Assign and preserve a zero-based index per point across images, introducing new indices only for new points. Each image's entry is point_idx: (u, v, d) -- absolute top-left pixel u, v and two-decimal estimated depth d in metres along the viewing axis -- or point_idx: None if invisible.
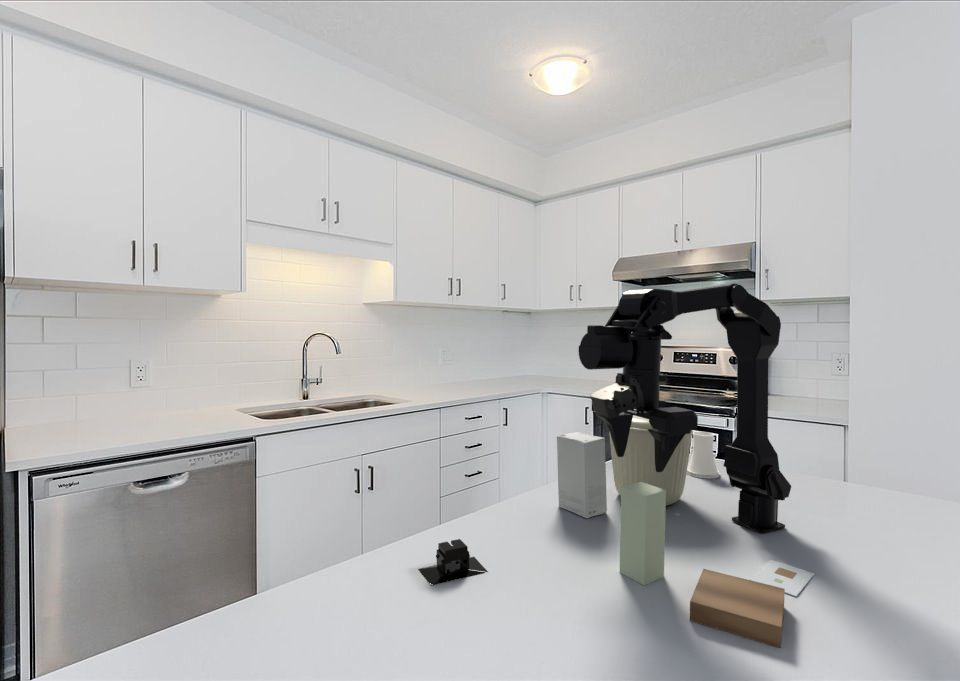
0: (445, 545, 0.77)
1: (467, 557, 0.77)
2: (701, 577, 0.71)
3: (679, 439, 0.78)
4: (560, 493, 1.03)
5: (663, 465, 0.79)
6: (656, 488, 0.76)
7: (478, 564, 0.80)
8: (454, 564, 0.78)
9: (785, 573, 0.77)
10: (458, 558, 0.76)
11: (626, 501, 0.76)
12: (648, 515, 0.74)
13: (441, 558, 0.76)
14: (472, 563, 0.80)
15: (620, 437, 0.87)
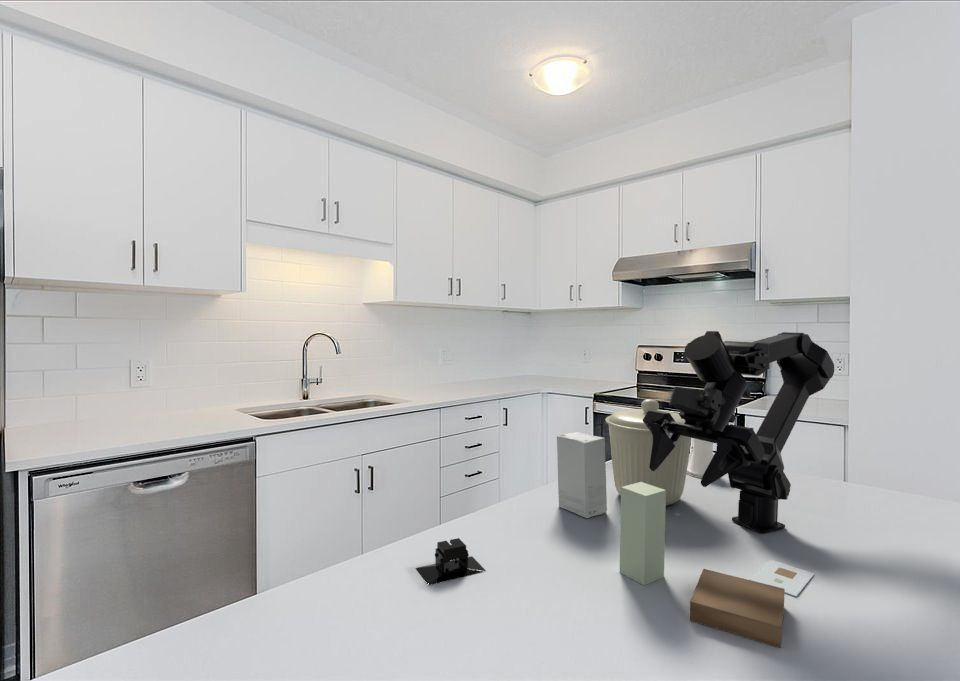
0: (444, 544, 0.78)
1: (466, 556, 0.78)
2: (701, 577, 0.71)
3: (734, 467, 0.78)
4: (560, 493, 1.03)
5: (709, 481, 0.77)
6: (656, 488, 0.76)
7: (477, 563, 0.80)
8: (453, 563, 0.79)
9: (785, 573, 0.77)
10: (457, 557, 0.77)
11: (626, 501, 0.76)
12: (648, 515, 0.74)
13: (440, 557, 0.77)
14: (471, 562, 0.80)
15: (660, 453, 0.86)
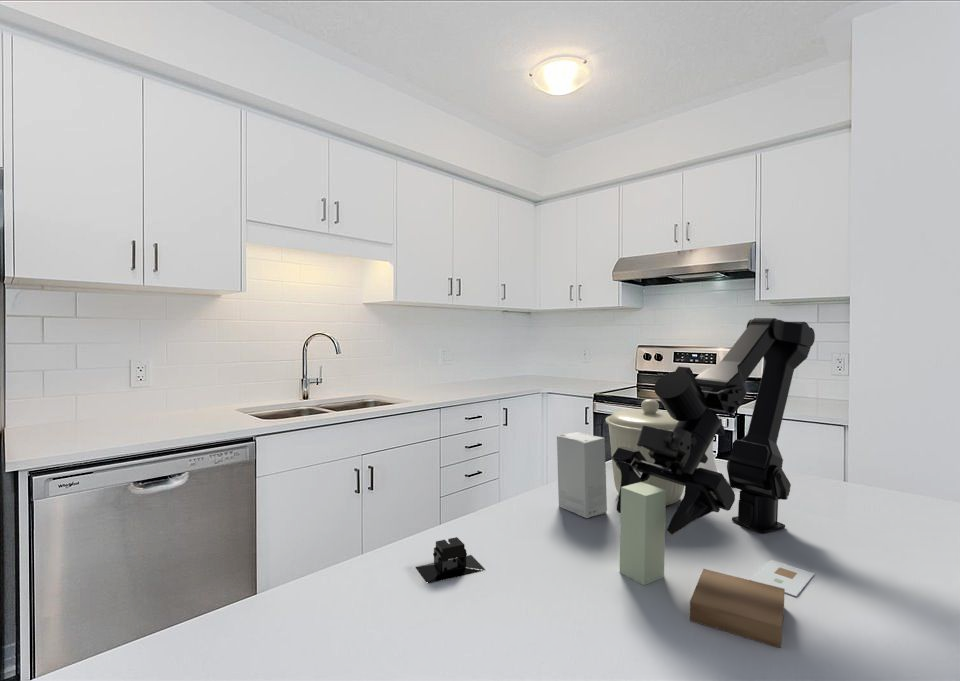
0: (442, 543, 0.78)
1: (464, 555, 0.78)
2: (701, 577, 0.71)
3: (703, 513, 0.74)
4: (560, 493, 1.03)
5: (676, 528, 0.73)
6: (656, 488, 0.76)
7: (475, 562, 0.80)
8: (451, 562, 0.79)
9: (785, 573, 0.77)
10: (455, 556, 0.77)
11: (626, 501, 0.76)
12: (648, 515, 0.74)
13: (438, 556, 0.77)
14: (469, 561, 0.80)
15: None
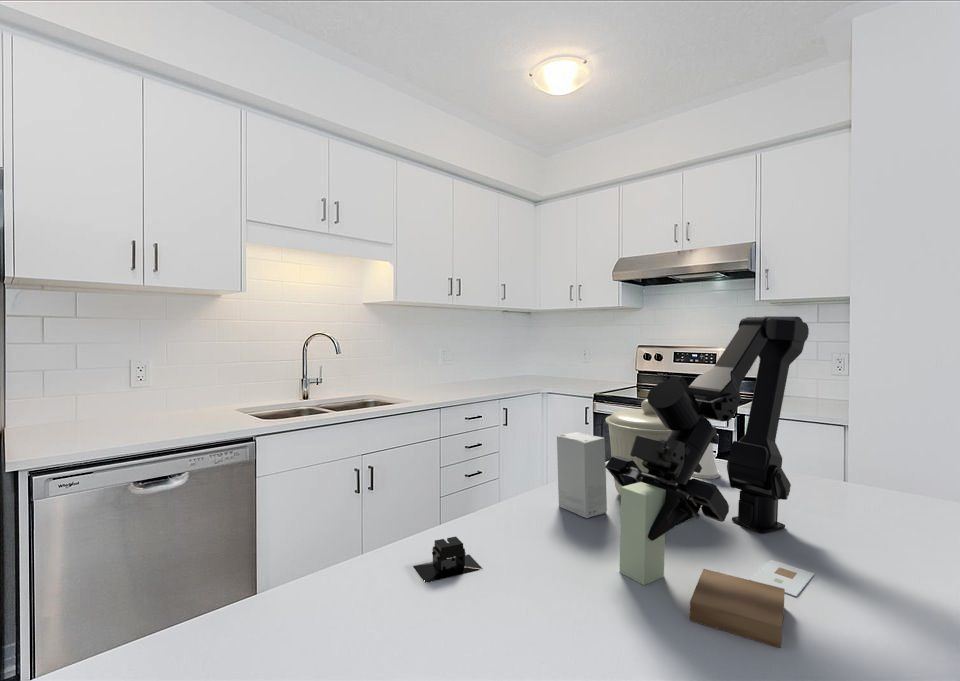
0: (441, 542, 0.78)
1: (463, 554, 0.78)
2: (701, 577, 0.71)
3: (683, 519, 0.75)
4: (560, 493, 1.03)
5: (657, 534, 0.74)
6: (656, 488, 0.76)
7: (474, 561, 0.80)
8: (450, 561, 0.79)
9: (785, 573, 0.77)
10: (454, 555, 0.77)
11: (626, 501, 0.76)
12: (648, 515, 0.74)
13: (437, 555, 0.77)
14: (468, 560, 0.81)
15: None
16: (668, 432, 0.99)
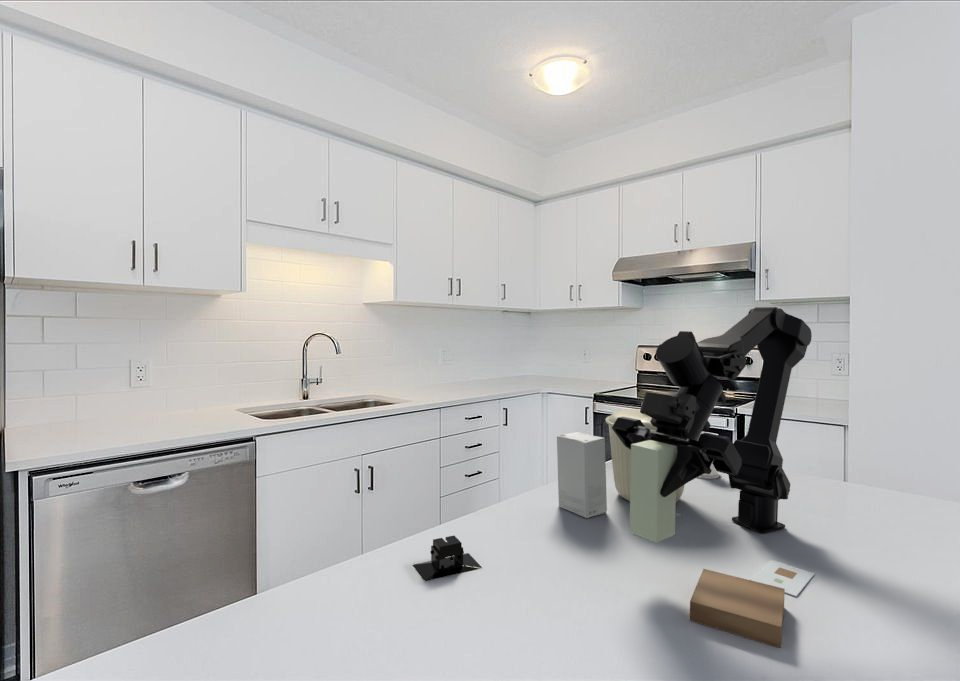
0: (439, 541, 0.79)
1: (461, 553, 0.78)
2: (701, 577, 0.71)
3: (695, 475, 0.74)
4: (560, 493, 1.03)
5: (669, 490, 0.72)
6: (667, 444, 0.75)
7: (472, 560, 0.81)
8: (448, 560, 0.80)
9: (785, 573, 0.77)
10: (452, 554, 0.78)
11: (637, 458, 0.74)
12: (660, 470, 0.72)
13: (435, 554, 0.78)
14: (466, 559, 0.81)
15: None
16: None
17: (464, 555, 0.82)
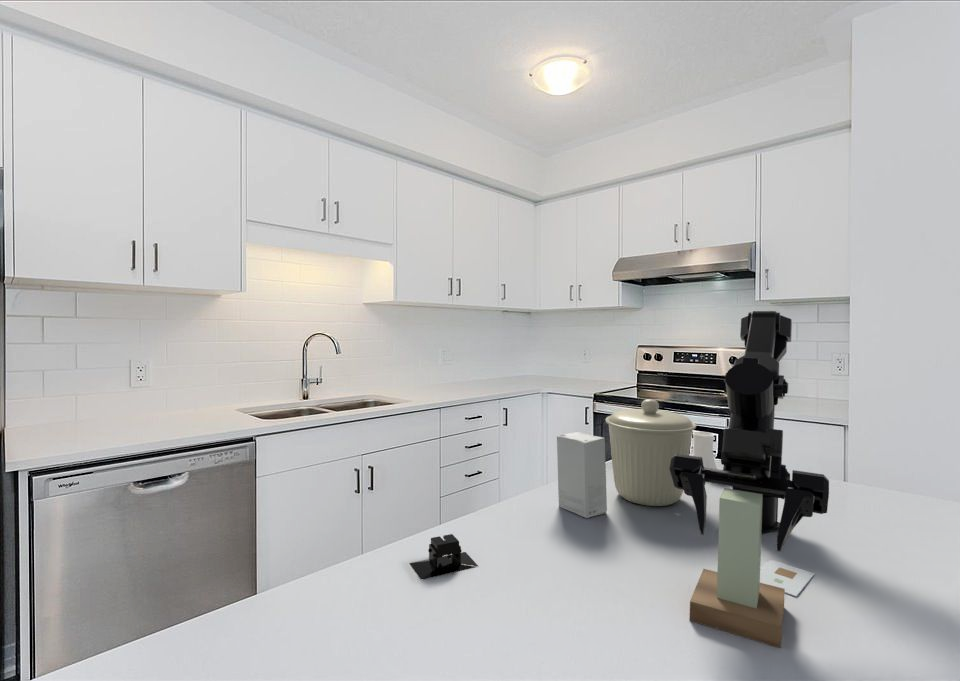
0: (437, 540, 0.79)
1: (458, 551, 0.79)
2: (701, 577, 0.71)
3: (797, 521, 0.66)
4: (560, 493, 1.03)
5: (783, 543, 0.63)
6: (751, 493, 0.67)
7: (470, 559, 0.81)
8: (446, 558, 0.80)
9: (785, 573, 0.77)
10: (450, 552, 0.78)
11: (728, 514, 0.65)
12: (759, 526, 0.64)
13: (433, 552, 0.78)
14: (464, 558, 0.81)
15: (704, 510, 0.69)
16: (668, 432, 0.99)
17: (462, 554, 0.83)
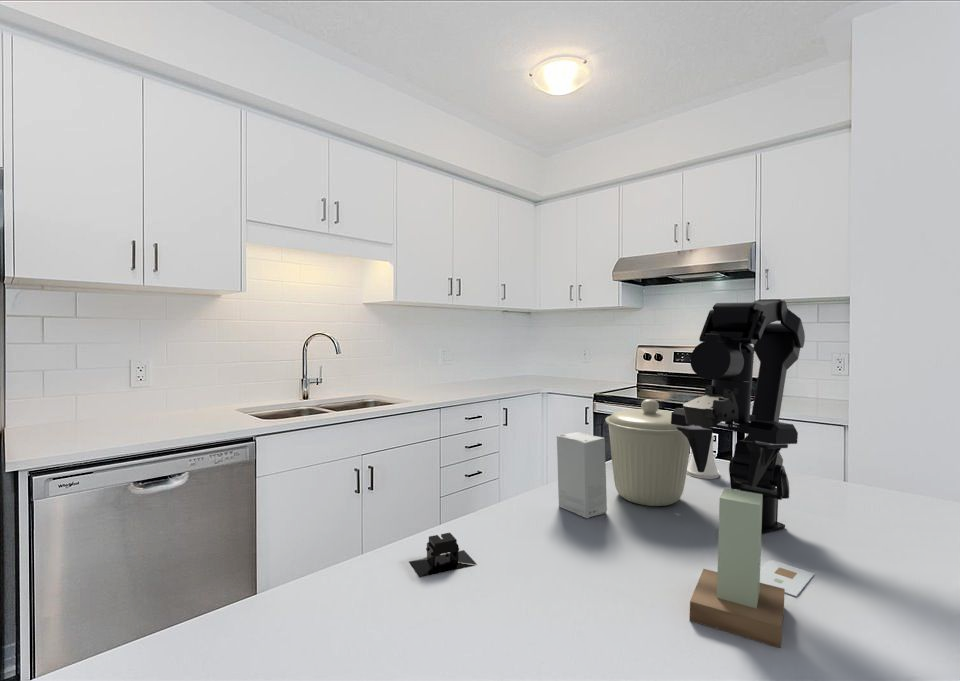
0: (435, 538, 0.80)
1: (456, 550, 0.80)
2: (701, 577, 0.71)
3: (774, 454, 0.77)
4: (560, 493, 1.03)
5: (757, 480, 0.77)
6: (751, 493, 0.67)
7: (467, 557, 0.82)
8: (444, 556, 0.81)
9: (785, 573, 0.77)
10: (447, 551, 0.79)
11: (728, 514, 0.65)
12: (759, 526, 0.64)
13: (431, 551, 0.79)
14: (462, 556, 0.82)
15: (701, 452, 0.86)
16: (668, 432, 0.99)
17: (460, 552, 0.83)
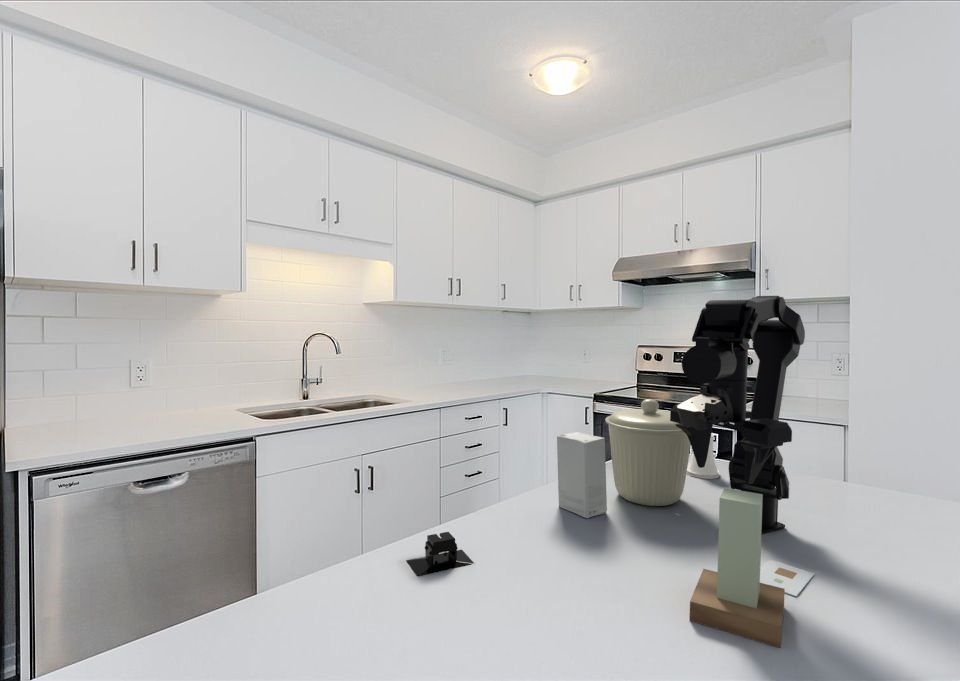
0: (433, 537, 0.80)
1: (454, 549, 0.80)
2: (701, 577, 0.71)
3: (770, 451, 0.78)
4: (560, 493, 1.03)
5: (753, 477, 0.78)
6: (751, 493, 0.67)
7: (466, 556, 0.82)
8: (442, 555, 0.81)
9: (785, 573, 0.77)
10: (446, 550, 0.79)
11: (728, 514, 0.65)
12: (759, 526, 0.64)
13: (429, 549, 0.79)
14: (460, 555, 0.82)
15: (701, 447, 0.87)
16: (668, 432, 0.99)
17: (458, 551, 0.84)
